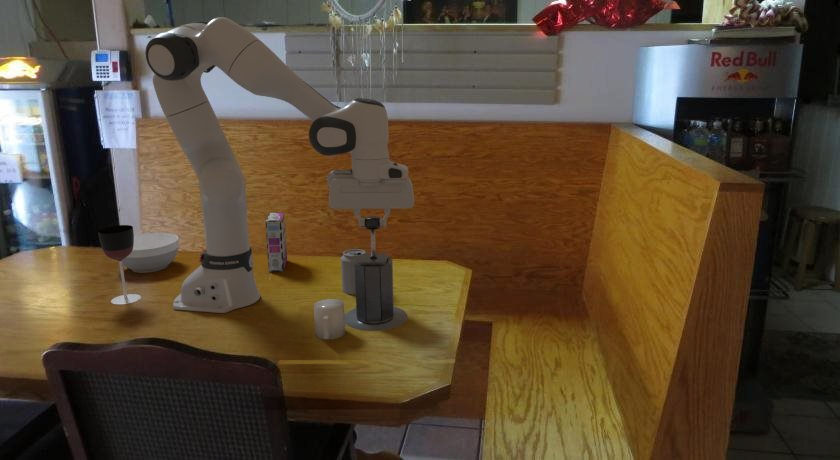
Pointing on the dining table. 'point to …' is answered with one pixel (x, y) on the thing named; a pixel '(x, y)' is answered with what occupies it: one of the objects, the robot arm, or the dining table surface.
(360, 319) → the carafe
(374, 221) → the plunger
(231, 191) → the robot arm
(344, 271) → the can
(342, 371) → the dining table surface
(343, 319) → the white rounded cylinder
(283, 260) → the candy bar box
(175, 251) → the bowl
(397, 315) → the coaster
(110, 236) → the wineglass
